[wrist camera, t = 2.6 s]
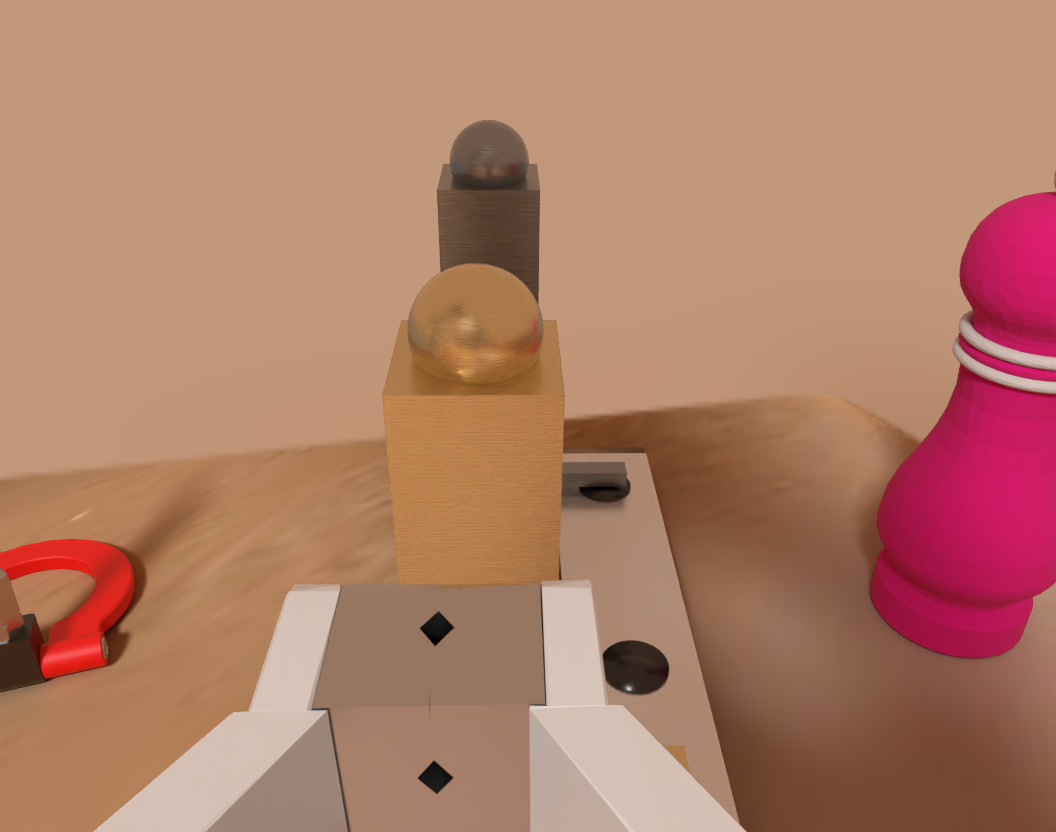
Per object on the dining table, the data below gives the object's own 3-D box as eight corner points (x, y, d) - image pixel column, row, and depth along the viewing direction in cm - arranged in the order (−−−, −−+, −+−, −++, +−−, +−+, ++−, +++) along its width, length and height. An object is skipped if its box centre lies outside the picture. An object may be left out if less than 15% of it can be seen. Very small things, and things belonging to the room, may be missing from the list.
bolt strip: (460, 844, 27) (460, 836, 27) (479, 458, 46) (479, 452, 46) (741, 840, 27) (743, 832, 27) (645, 458, 46) (646, 451, 46)
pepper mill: (837, 555, 42) (939, 125, 32) (987, 556, 42) (1137, 126, 32) (891, 669, 36) (1040, 179, 26) (1068, 670, 36) (1286, 180, 26)
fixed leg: (451, 512, 42) (434, 131, 33) (455, 466, 45) (441, 110, 36) (629, 511, 42) (659, 132, 33) (619, 465, 45) (645, 111, 37)
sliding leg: (420, 829, 27) (373, 302, 18) (430, 723, 30) (395, 238, 22) (696, 825, 27) (783, 301, 18) (674, 720, 30) (739, 238, 22)
